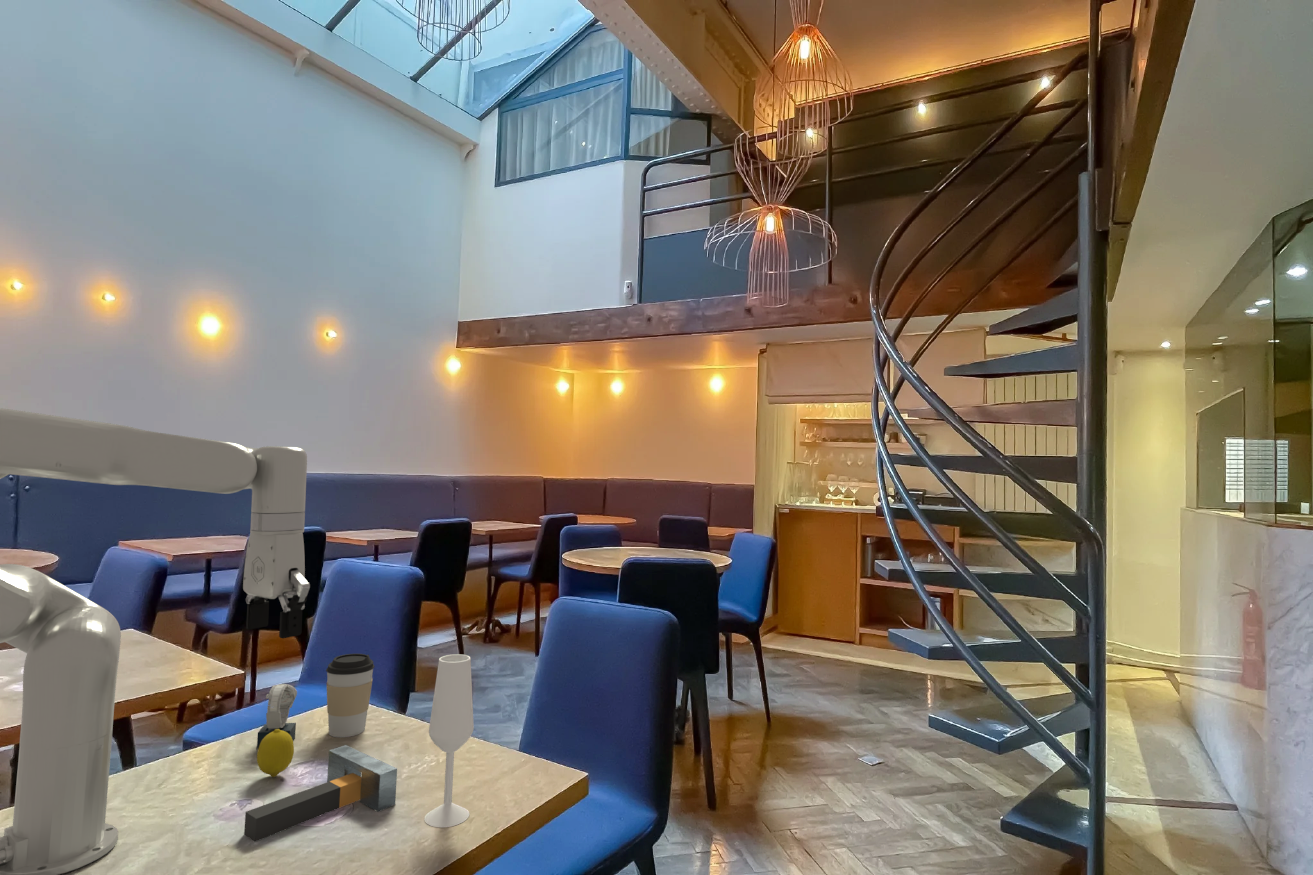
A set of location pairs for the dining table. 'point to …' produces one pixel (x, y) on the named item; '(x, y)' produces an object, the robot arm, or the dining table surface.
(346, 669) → the coffee cup
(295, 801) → the plug
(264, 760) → the lemon
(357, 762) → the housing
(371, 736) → the dining table surface
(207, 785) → the dining table surface
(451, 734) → the champagne flute
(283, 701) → the watch
